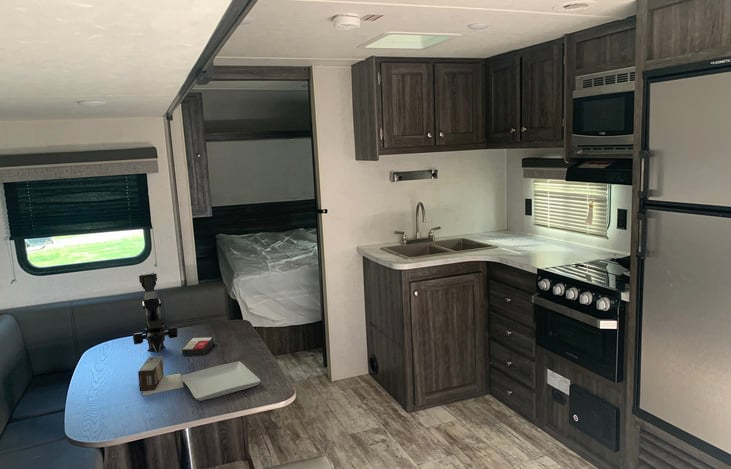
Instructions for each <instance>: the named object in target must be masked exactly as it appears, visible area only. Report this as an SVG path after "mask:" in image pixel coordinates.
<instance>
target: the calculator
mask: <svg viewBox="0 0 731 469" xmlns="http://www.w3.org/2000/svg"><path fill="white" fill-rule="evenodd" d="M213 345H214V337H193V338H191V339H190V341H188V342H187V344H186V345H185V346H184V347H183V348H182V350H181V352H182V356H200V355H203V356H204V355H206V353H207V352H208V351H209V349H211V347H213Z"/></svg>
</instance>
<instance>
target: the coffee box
mask: <svg viewBox="0 0 731 469" xmlns="http://www.w3.org/2000/svg"><path fill="white" fill-rule="evenodd" d="M137 375H138V376H137V377H138V388H139V389H138V390H139V392H143V391H150V390H155V389H156V387H157V386H158V384H159V382H160V381H161V379H162V377H164V376H165V371H164V356H163V355H160V356H149V357H148V358H146V360H145V362H144V363H143V364H142V365H141V367H140V368H139V370H138V371H137Z"/></svg>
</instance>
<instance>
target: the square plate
mask: <svg viewBox="0 0 731 469" xmlns="http://www.w3.org/2000/svg"><path fill="white" fill-rule="evenodd" d="M179 377H180V379H181V380H182V382H183V384H185V385H186V386H187V388H188V390H190V393H191V395H192V397H194V399H195V400H197V401H200V402H201V401H206V400H210V399H215V398H219V397H221V396H225V395H229V394H233V393H236V392H240V391H244V390H247V389H250V388H254V387H256V386H258V385H260V383H261V382H262V380H261V379H260V378H259V377H258V376H257V375H256V374H254V373H253V371H251V370H250V369H249V368H248V367H247V366H246V365H245V364H244V363H242V362H241V361H234V362H229V363H225V364H220V365H216V366H212V367H208V368H204V369H200V370H196V371H192V372H190V373H187V374H186V373H185V374H182V375H181V376H179Z"/></svg>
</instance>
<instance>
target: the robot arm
mask: <svg viewBox="0 0 731 469" xmlns="http://www.w3.org/2000/svg"><path fill="white" fill-rule="evenodd" d="M138 281H139V284H141V287H142V288H143V290H144V291H145V295H144V296H143V301H142V308H143V310H145V315H146V316H145V317H146V325H145V327H146V328H144V330H145V334H143V332H142V331H141V332H136V333H133V334H132V339H133V345H141V344H143V343H144V340H146V341H147V344H148V349H147V352H155V353H160V351H162V350H163V349H165V348H166V346H165V343H164V342H165V341H166V336H168V338H169V339H175V338H177V337H178V336H179V335H178V334H179V332H178V327H177V326H172V327H167V330H166V329H165V327H164V326H165V325H166V323H165V317H163V318H161V316H160V308H161V306H162V305H163V304H162V302H163V301H161V299H160V298H159V296H158V294H157V292H155V287H156V285H157V282H158V274H157V273H154V271H153V272H145V273H141V275H138Z"/></svg>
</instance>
